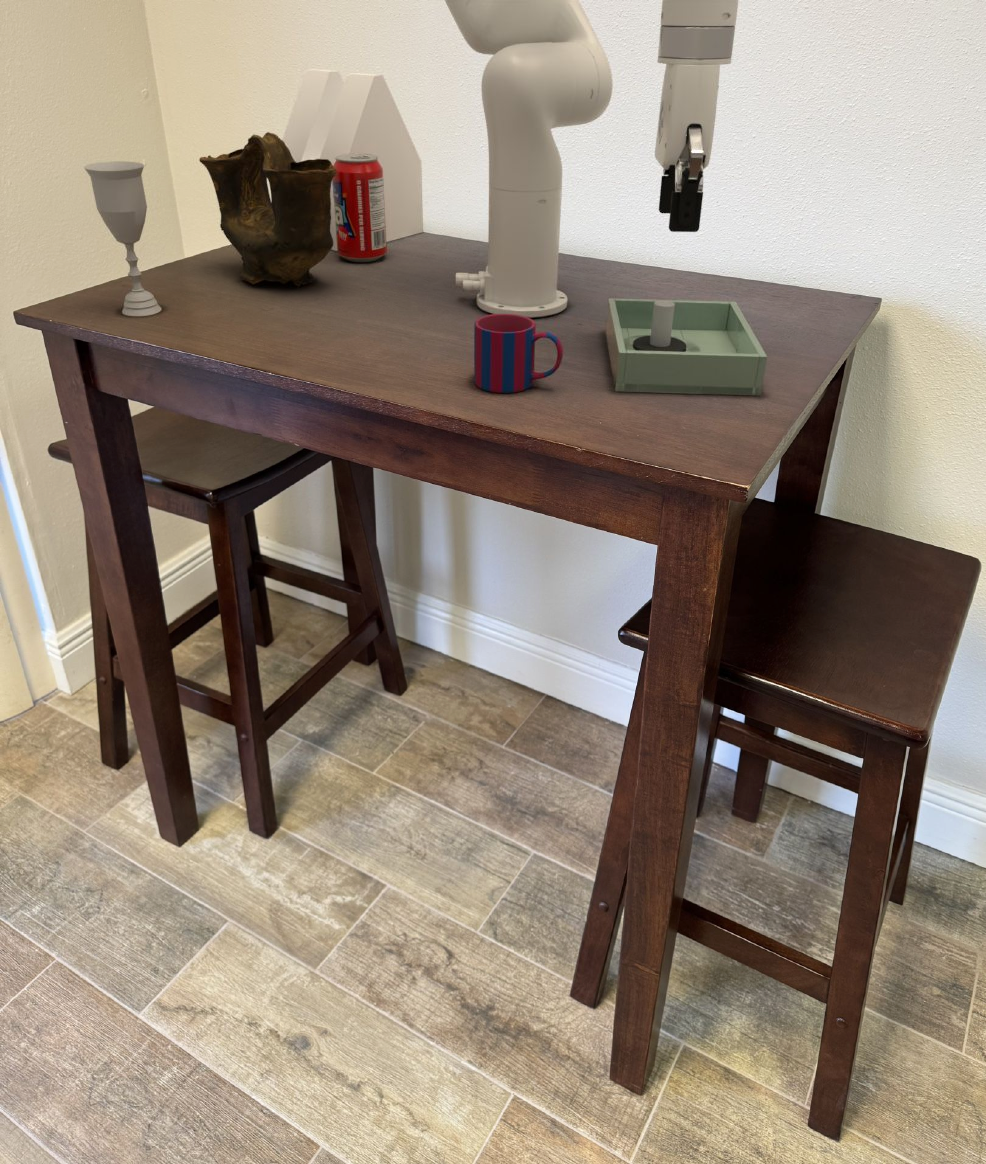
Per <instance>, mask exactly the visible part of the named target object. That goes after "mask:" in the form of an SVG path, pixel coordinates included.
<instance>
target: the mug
mask: <svg viewBox="0 0 986 1164" xmlns="http://www.w3.org/2000/svg"><path fill="white" fill-rule="evenodd" d="M473 325H474V327H473V328H474V329H473V331H474V332H473V348H474V349H473V358H474V359H473V383H474V384H475V386H476V387H478V388H479V389H481V390H483V391H486V392H490V393H496V394H498V393H499V394H514V393H519V392H523V391H527V390H529V389H530V388H532V387H533V384H534V381H535V380H540V379H545V378H548V377H549V376H551V375H553V374H555V372H557V370H559V368H560V366H561V364H562V360H563V356H564V349H563V343H562V341H561V339H560V338H559V336H558V335H556V334H554V333H552V332H547V331H546V332H545V331H544V332H537V333H536V328H537V327H536V326H537V324H536V322H535V320H534V319H532V318H528V317H525V316H521V315H515V314H492V313H491V314H485V315H483V316H481V317H478V318H477V319H475V321H474V323H473ZM544 338H546V339H550V340H551V341H552V342H553V343H554V345H555V347H556V361H555V364H554V366H552V368H551V369H549V370H547V371H543V372H536V371H535V360H536V359H535V357H536V355H535V354H536V342H537V341H538V340H540V339H544Z"/></svg>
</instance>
